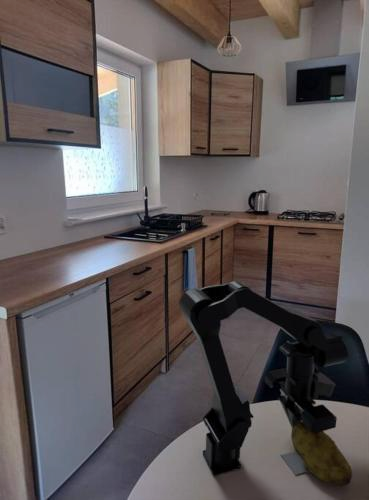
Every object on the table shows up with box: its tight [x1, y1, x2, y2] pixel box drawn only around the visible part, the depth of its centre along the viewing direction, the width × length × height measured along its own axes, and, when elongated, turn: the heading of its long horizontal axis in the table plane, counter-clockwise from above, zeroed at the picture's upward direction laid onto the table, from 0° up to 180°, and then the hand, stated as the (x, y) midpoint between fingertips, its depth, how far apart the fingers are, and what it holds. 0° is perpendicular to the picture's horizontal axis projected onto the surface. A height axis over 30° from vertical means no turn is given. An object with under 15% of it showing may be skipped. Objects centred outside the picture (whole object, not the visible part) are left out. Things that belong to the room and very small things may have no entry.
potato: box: [290, 421, 353, 487], centre depth 74 cm, size 8×13×8 cm, turn 15°
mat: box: [280, 451, 311, 476], centre depth 77 cm, size 11×5×1 cm, turn 108°
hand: (294, 428), depth 82 cm, fingers closed
